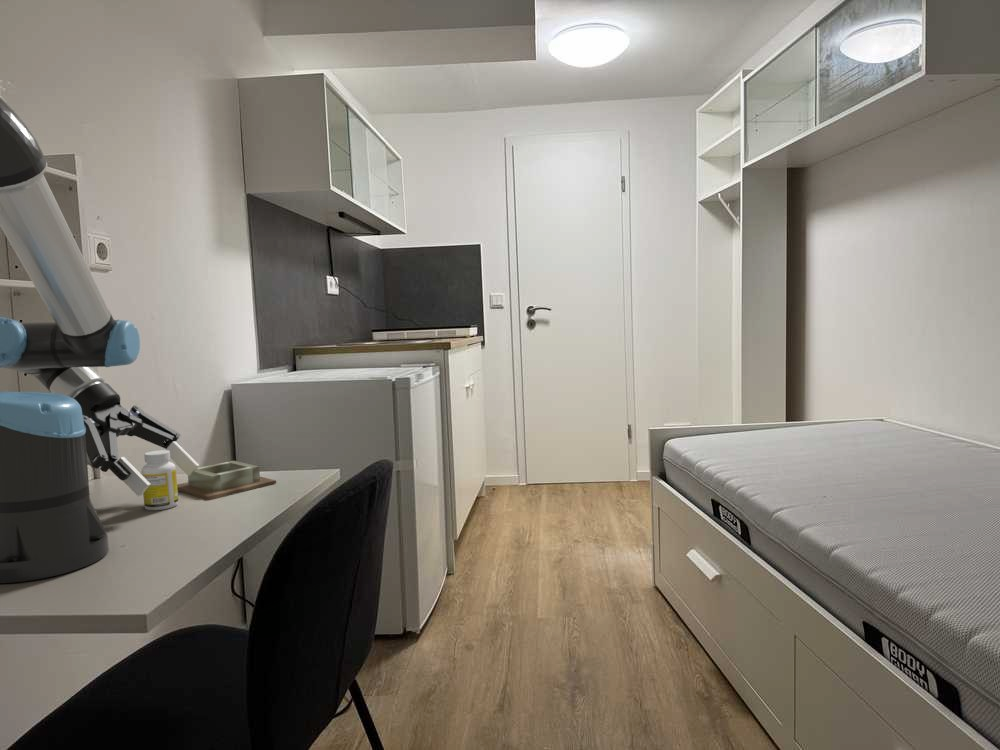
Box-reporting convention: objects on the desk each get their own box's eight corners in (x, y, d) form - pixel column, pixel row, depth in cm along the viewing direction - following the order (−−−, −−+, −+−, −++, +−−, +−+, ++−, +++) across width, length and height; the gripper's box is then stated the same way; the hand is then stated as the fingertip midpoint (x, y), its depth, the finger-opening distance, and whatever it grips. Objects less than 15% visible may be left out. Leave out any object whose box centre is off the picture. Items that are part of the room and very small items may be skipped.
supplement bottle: (165, 501, 120) (161, 448, 119) (185, 504, 117) (181, 450, 116) (137, 509, 115) (133, 454, 114) (157, 512, 112) (153, 456, 111)
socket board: (208, 499, 120) (207, 480, 119) (172, 488, 128) (170, 470, 128) (276, 483, 131) (275, 465, 130) (238, 474, 139) (237, 457, 139)
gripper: (124, 401, 129) (199, 476, 128) (13, 422, 104) (106, 516, 104) (147, 374, 128) (223, 450, 127) (40, 389, 103) (134, 483, 102)
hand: (170, 480), depth 115 cm, fingers open, 13 cm apart
